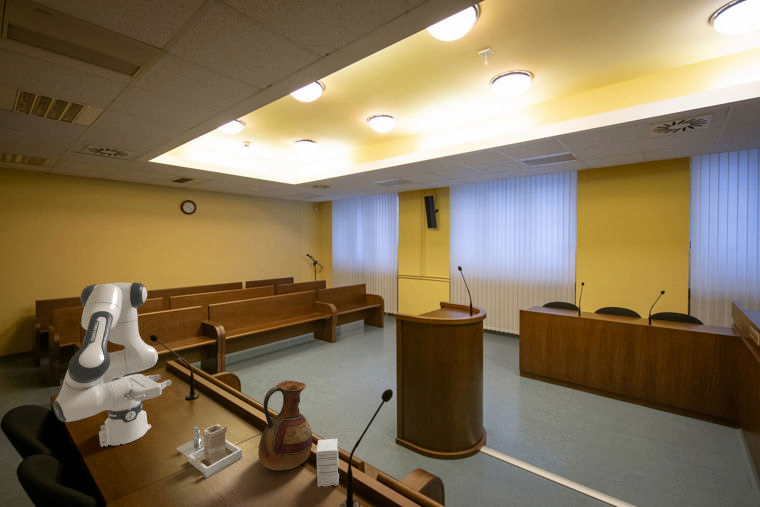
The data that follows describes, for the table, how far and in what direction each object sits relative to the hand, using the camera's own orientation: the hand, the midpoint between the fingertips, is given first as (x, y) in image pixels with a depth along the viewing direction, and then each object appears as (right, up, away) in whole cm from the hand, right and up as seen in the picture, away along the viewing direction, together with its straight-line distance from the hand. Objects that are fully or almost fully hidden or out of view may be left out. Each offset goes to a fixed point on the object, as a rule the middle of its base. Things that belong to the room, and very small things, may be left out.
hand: (165, 379), depth 126 cm
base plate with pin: (+4, -35, +15) cm, 38 cm away
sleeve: (+16, -34, +6) cm, 38 cm away
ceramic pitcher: (+44, -34, +5) cm, 56 cm away
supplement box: (+62, -34, -6) cm, 71 cm away
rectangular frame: (+16, -34, +6) cm, 38 cm away
